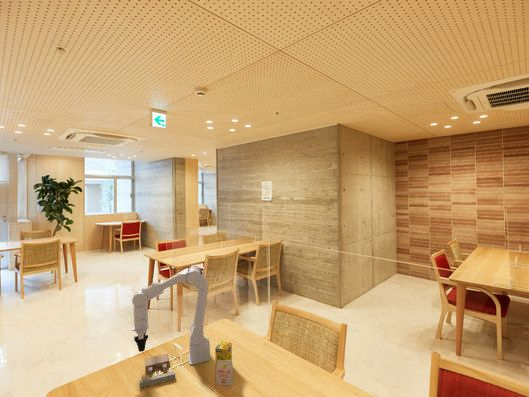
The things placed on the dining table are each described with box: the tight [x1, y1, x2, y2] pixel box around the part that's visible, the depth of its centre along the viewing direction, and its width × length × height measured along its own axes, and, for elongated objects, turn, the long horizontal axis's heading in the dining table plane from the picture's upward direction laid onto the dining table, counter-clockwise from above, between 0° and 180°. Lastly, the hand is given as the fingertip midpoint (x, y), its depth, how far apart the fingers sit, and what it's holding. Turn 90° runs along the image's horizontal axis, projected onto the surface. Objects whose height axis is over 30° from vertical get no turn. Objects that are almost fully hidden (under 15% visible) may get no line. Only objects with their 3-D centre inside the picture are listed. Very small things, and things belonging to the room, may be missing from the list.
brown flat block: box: [144, 353, 170, 375], centre depth 126 cm, size 10×9×3 cm
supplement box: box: [214, 340, 233, 364], centre depth 124 cm, size 6×6×11 cm
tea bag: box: [214, 359, 234, 388], centre depth 115 cm, size 4×7×10 cm, turn 85°
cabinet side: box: [139, 367, 176, 389], centre depth 117 cm, size 14×4×2 cm, turn 112°
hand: (141, 346), depth 125 cm, fingers open, 7 cm apart
